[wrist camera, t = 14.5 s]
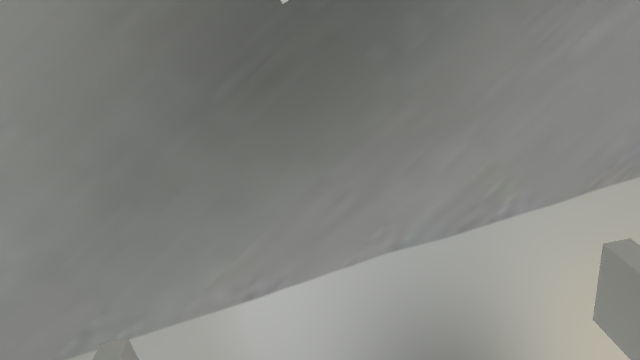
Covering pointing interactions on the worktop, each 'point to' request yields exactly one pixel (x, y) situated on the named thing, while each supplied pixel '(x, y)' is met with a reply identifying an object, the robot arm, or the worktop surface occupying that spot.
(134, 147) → the worktop surface
